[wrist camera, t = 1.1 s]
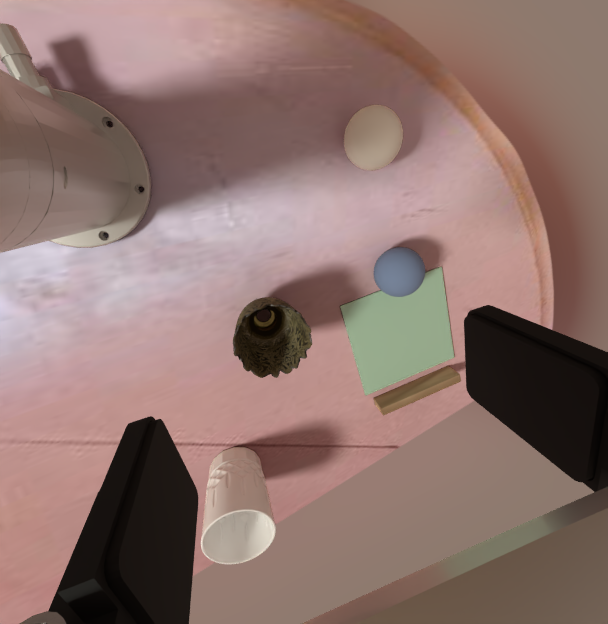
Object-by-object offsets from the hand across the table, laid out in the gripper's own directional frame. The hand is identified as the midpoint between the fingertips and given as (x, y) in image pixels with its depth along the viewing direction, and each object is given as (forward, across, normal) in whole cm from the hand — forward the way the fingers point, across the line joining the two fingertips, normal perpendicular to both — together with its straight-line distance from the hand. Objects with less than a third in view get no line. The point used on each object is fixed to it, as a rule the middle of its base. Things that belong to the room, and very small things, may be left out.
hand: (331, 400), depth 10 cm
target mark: (+28, -16, +15) cm, 35 cm away
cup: (+28, +1, +7) cm, 29 cm away
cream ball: (+25, -14, -8) cm, 30 cm away
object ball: (+25, -15, +6) cm, 30 cm away
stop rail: (+28, -17, +24) cm, 40 cm away
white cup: (+28, +10, +27) cm, 40 cm away
